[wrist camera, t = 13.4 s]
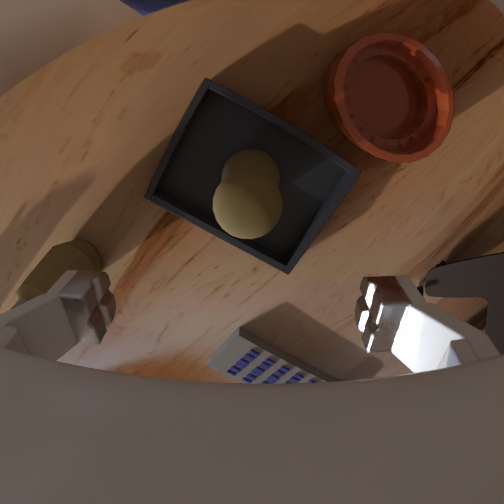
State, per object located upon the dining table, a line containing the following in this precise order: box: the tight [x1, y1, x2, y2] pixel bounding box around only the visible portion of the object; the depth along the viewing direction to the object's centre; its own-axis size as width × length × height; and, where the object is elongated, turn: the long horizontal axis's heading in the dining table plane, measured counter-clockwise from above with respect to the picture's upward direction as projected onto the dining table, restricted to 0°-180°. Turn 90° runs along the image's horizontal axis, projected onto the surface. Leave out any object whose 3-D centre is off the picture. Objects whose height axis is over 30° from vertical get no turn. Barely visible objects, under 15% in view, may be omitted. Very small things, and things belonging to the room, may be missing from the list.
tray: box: [144, 78, 361, 275], centre depth 31 cm, size 18×14×3 cm
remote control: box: [207, 327, 339, 384], centre depth 44 cm, size 8×23×2 cm, turn 53°
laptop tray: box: [417, 252, 504, 355], centre depth 35 cm, size 23×23×9 cm
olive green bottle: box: [213, 149, 283, 239], centre depth 27 cm, size 6×6×11 cm
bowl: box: [324, 32, 454, 162], centre depth 25 cm, size 13×13×5 cm
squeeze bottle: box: [11, 240, 101, 309], centre depth 29 cm, size 8×8×18 cm
